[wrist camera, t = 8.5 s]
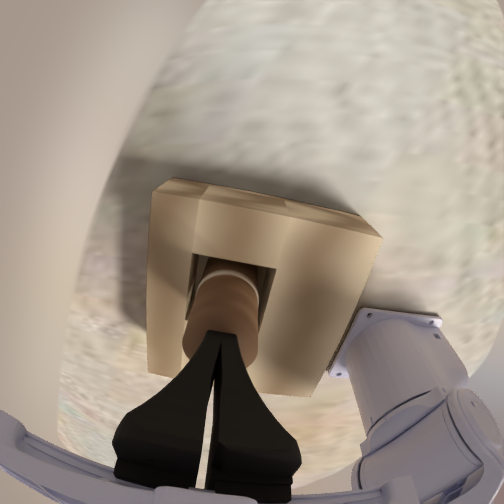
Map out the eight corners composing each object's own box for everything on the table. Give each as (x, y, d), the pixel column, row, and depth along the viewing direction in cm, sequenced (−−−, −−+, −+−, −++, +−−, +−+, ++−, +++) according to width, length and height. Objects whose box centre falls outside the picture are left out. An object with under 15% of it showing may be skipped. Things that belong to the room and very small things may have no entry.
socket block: (361, 216, 19) (383, 238, 16) (304, 363, 25) (310, 397, 21) (172, 177, 18) (152, 191, 15) (160, 339, 24) (148, 372, 21)
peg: (265, 254, 20) (270, 329, 13) (249, 297, 22) (246, 380, 14) (212, 238, 20) (188, 308, 12) (200, 284, 21) (176, 363, 14)
